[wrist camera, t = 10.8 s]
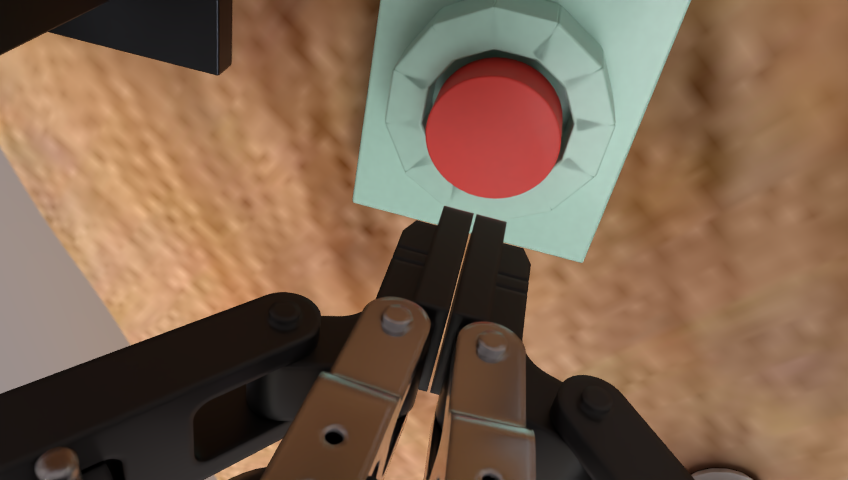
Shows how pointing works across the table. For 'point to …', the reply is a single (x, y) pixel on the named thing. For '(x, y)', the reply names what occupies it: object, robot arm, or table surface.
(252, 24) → the table surface
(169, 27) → the bracket
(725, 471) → the rook chess piece
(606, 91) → the button box
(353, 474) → the robot arm
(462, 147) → the button
